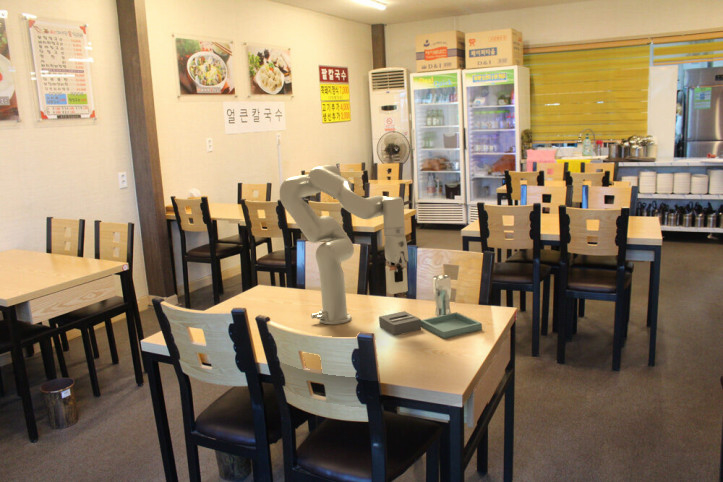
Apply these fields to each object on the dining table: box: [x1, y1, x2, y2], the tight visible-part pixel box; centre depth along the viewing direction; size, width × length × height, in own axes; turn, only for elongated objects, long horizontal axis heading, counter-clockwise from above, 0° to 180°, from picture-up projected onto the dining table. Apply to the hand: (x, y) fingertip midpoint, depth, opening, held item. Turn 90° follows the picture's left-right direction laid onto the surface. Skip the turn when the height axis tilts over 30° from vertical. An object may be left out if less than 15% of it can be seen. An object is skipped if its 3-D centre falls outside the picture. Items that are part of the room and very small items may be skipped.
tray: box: [421, 312, 483, 340], centre depth 221 cm, size 16×16×2 cm
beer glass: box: [432, 274, 452, 317], centre depth 237 cm, size 7×7×15 cm
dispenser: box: [378, 310, 422, 337], centre depth 225 cm, size 11×12×4 cm
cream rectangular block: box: [385, 264, 409, 295], centre depth 222 cm, size 7×3×10 cm, turn 115°
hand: (396, 280), depth 222 cm, fingers closed on cream rectangular block, 2 cm apart
